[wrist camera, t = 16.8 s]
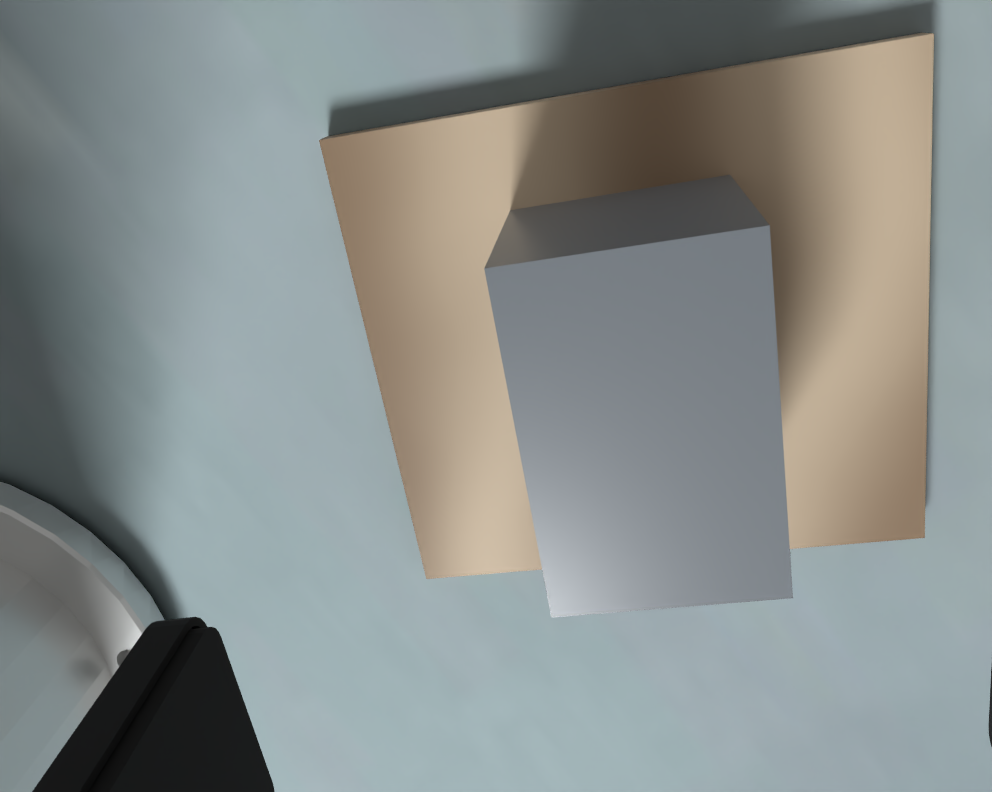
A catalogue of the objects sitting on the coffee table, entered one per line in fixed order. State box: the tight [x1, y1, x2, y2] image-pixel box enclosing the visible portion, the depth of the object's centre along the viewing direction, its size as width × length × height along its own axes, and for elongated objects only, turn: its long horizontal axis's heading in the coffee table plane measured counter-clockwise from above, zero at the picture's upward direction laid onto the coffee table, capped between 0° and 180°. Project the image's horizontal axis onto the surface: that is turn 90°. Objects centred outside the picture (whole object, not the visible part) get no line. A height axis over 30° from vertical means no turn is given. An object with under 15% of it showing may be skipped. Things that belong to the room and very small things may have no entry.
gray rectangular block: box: [484, 175, 793, 617], centre depth 17 cm, size 7×4×4 cm, turn 10°
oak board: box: [319, 33, 934, 579], centre depth 19 cm, size 12×11×1 cm
